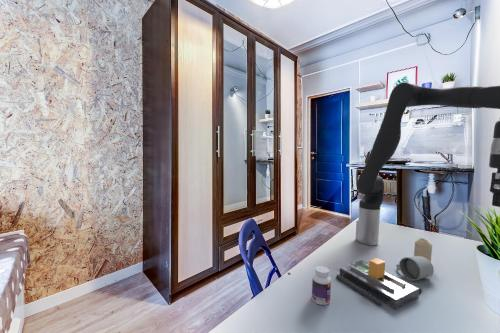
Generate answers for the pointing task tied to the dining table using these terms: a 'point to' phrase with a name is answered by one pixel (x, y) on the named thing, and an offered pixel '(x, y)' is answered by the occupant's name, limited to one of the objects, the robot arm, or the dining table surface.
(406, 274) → the ceramic mug
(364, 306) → the dining table surface
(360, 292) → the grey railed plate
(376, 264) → the lever
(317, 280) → the pill bottle
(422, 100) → the robot arm
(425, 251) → the candle
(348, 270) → the panel
